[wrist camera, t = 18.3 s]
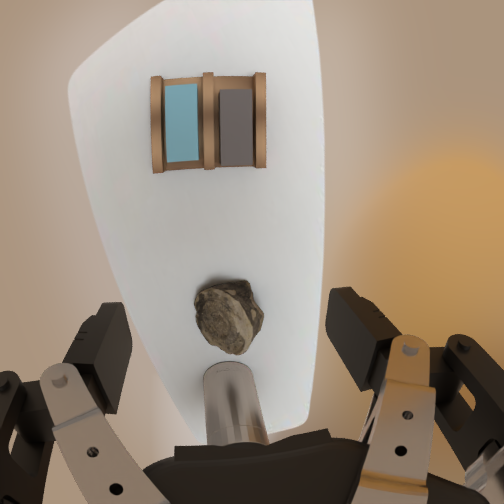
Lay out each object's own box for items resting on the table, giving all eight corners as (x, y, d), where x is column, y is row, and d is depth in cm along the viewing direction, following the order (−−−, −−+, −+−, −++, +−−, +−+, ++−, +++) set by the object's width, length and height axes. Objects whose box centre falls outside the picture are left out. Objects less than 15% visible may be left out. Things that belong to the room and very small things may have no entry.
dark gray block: (247, 162, 37) (252, 164, 33) (219, 163, 36) (221, 166, 32) (247, 94, 33) (252, 89, 30) (218, 94, 33) (220, 89, 29)
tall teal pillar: (199, 158, 35) (198, 159, 32) (171, 160, 35) (167, 162, 31) (197, 89, 32) (196, 83, 28) (169, 91, 32) (165, 86, 28)
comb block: (260, 165, 38) (266, 167, 35) (157, 170, 36) (152, 173, 33) (260, 78, 34) (265, 72, 30) (155, 82, 32) (150, 76, 28)
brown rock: (178, 291, 42) (208, 312, 34) (227, 261, 46) (266, 274, 38) (206, 346, 46) (239, 373, 38) (249, 316, 50) (287, 336, 42)
